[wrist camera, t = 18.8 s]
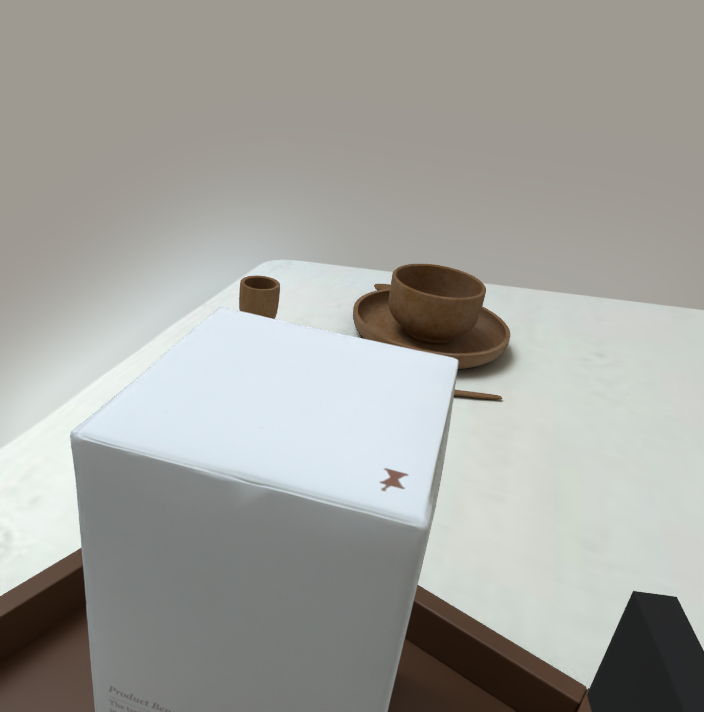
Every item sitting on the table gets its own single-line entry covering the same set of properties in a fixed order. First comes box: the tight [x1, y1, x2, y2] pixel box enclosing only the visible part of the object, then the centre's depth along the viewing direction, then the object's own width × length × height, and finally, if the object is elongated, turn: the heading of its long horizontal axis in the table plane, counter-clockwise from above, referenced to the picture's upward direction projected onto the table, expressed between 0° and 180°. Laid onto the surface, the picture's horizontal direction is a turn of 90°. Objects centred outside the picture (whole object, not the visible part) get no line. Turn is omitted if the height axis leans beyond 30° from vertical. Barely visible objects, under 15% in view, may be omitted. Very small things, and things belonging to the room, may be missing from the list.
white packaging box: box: [70, 307, 459, 712], centre depth 18 cm, size 7×7×13 cm
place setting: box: [239, 264, 510, 399], centre depth 49 cm, size 18×20×6 cm
